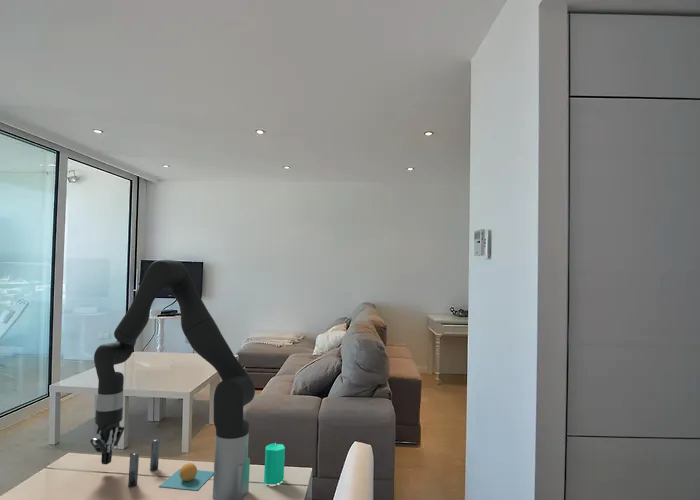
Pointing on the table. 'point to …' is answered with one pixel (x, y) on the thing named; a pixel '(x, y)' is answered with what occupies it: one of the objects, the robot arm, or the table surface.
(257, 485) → the table surface
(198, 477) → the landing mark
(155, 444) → the right post
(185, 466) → the ball
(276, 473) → the candle
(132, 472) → the left post
